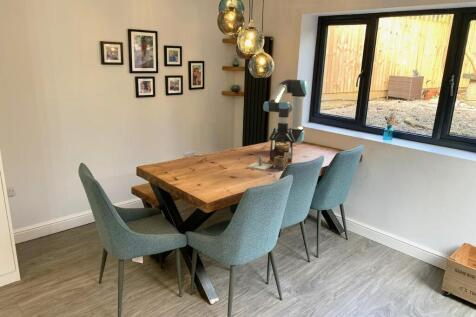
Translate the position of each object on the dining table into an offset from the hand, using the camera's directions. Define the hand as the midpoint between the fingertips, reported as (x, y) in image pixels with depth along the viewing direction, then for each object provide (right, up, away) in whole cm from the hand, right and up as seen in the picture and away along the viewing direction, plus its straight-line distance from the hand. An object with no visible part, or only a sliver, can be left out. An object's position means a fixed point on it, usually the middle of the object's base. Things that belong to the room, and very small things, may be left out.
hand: (281, 150), depth 275 cm
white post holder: (-16, -13, +7) cm, 21 cm away
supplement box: (+2, -10, +20) cm, 22 cm away
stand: (0, -14, +4) cm, 15 cm away
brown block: (0, -11, +3) cm, 12 cm away
